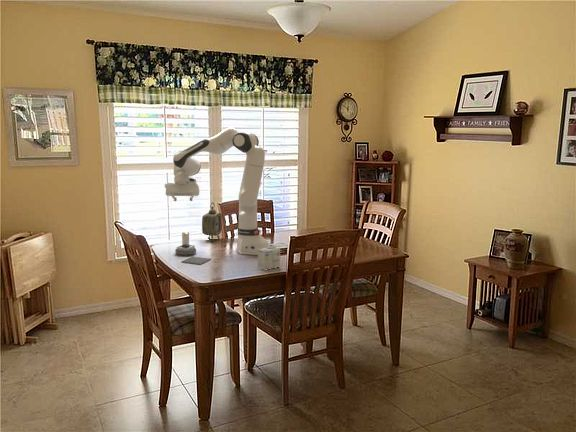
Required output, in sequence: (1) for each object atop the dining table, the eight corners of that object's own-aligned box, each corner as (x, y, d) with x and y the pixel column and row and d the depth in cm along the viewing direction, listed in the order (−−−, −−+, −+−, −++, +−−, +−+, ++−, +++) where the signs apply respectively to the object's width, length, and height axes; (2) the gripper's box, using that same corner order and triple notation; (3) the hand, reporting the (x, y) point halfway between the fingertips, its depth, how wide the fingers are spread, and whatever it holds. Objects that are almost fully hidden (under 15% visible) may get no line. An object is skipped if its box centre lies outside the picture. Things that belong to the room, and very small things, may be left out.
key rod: (190, 249, 301) (190, 232, 300) (186, 250, 298) (186, 233, 296) (184, 248, 303) (184, 231, 301) (181, 249, 299) (180, 233, 297)
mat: (211, 259, 289) (211, 258, 288) (200, 264, 277) (200, 263, 277) (192, 257, 292) (192, 256, 292) (181, 262, 281) (181, 261, 281)
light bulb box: (272, 265, 281) (273, 246, 279) (280, 267, 276) (280, 248, 274) (257, 268, 274) (257, 248, 272) (264, 271, 269) (264, 251, 267)
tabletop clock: (214, 242, 331) (214, 204, 327) (201, 241, 333) (201, 203, 329) (221, 237, 345) (221, 201, 341) (209, 236, 347) (209, 200, 343)
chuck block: (199, 252, 304) (199, 245, 304) (189, 257, 293) (189, 249, 292) (182, 250, 308) (182, 243, 307) (171, 254, 297) (171, 247, 296)
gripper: (164, 179, 309) (165, 197, 301) (198, 179, 315) (200, 197, 307) (164, 185, 314) (165, 203, 306) (197, 185, 320) (199, 203, 312)
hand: (183, 200), depth 307 cm, fingers open, 8 cm apart
